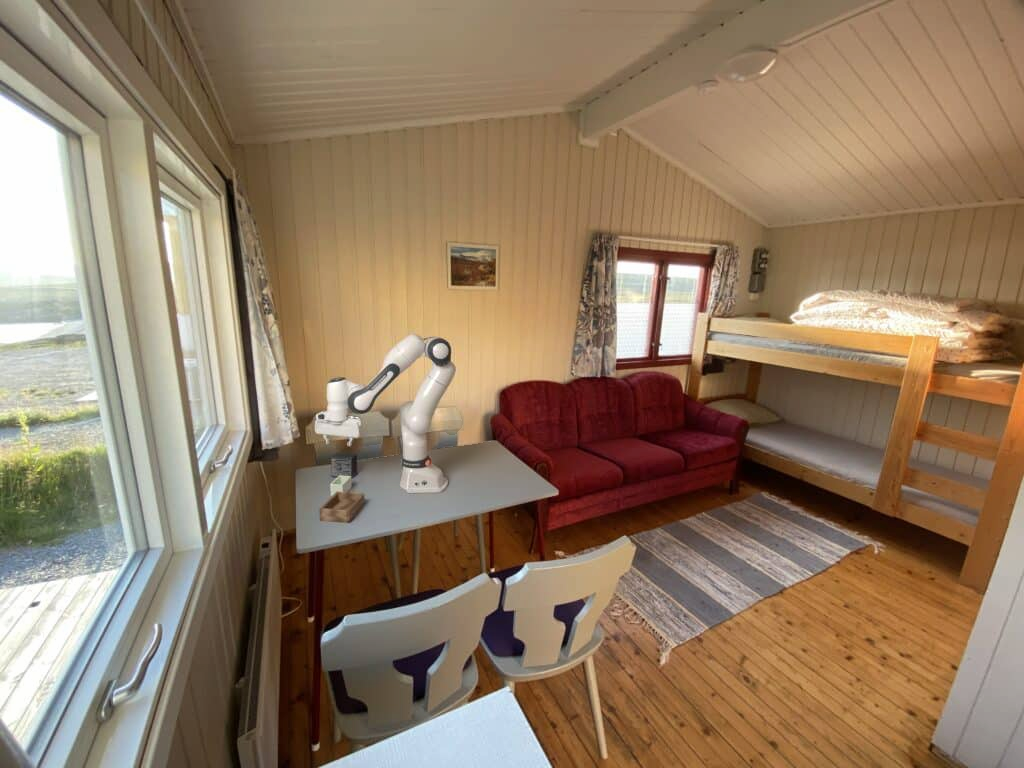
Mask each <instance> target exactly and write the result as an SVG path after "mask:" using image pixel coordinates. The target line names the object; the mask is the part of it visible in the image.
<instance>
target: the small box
mask: <svg viewBox="0 0 1024 768" xmlns="http://www.w3.org/2000/svg"><path fill="white" fill-rule="evenodd" d="M330 463H331V465H330V466H331V478H337V477H338V476H339V475H341V476H351V480H353V479H354V477H355V476H357V475H358V455H357V453H346V452H336V453H334V454H333V455H331V456H330Z"/></svg>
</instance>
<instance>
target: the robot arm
mask: <svg viewBox="0 0 1024 768" xmlns="http://www.w3.org/2000/svg"><path fill="white" fill-rule="evenodd" d="M451 346H452V345H450V342H448V341H447V340H446V339H445V338H442V337H440V336H430V337H426V338H425V337H424V338H423V337H422V336H421V335H419V334H416V333H410V334H409V335H407V336H405V337H404V338H402V339H401V340H399V342H397V343H396V344H395V345H394V346H393V347H391V349H389V351H388V353H386V355H385V356H384V357H383V364H382V366H381V369H380V371H379V372H378V374H377V375H376V376H375V377H373V379H372V380H371V381H370V382H369V383H367V385H366V384H362V383H357V382H354V381H351V380H349V379H348V378H346V377H343V376H339V377H335V378H332V379H330V380H329V381H328V382H327V384H326V401H327V406H326V409H324V410H321V411H320V412H318V413H317V414H316V415H315V419H316V420H315V422H314V432H315V434H316V435H323V436H322V437H323V438H324V440H325V444H326V445H330V444H332V439H330V438H329V436H335V437H345V438H348V440H349V441H347V442H346V446H347V447H352V444H353V441H354V439H358V438H360V437H361V436H362V435H363V427H362V418H360V417H359V416H353V415H350V411H351V412H352V413H354V414H356V415H357V414H358V415H363V414H366V413H368V412H370V411H371V410H372V408H373V406H374V404H375V401H376V399H378V397H379V396H380V395H381V394H382V393H383V392H384V391H385V390H386V388H388V387H389V386H390V384H391V383H393V381H394V380H396V378H398V377H399V376H400V375H401V374H402V373H404V372H405V371H406V370H407V369H409V368H410V367H411V366H412V365H413V364H414V363H415V362H416V361H417V360H418V359H420V358H421V357H426V358H428V359H429V360H430V361H431V362H432V364H431V365H432V366H431V368H430V370H429V371H428V373H427V375H426V376H425V377H424V379H423V381H422V382H421V383H420V386H419V387H418V388H417V392H416V395H415V397H414V400H408V401H406V402H403V404H402V405H401V406H400V409H399V417H400V429H401V439H402V456H401V469H402V472H401V478H400V482H399V487H400V488H402V489H403V490H405V491H406V493H408V494H422V493H423V494H425V493H426V494H428V493H429V494H430V493H431V494H432V493H442V492H443V491H445V490H446V489H447V487H448V485H449V480H448V478H447V477H445V476H444V473H443V471H442V469H441V468H439V467H438V466H436V465H435V464H434V463H432V455H431V456H429V455H428V438H427V431H429V430H430V428H431V425H432V420H433V416H434V414H435V412H436V409H437V408H438V405H439V403H440V400H441V399H442V397H443V396H444V395H445V393H446V392H447V389H448V388H449V386H450V384H451V383H452V381H453V378H454V377H455V375H456V372H457V366H456V365H455V363H454V362H453V361H452V347H451Z"/></svg>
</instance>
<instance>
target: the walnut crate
mask: <svg viewBox="0 0 1024 768" xmlns="http://www.w3.org/2000/svg"><path fill="white" fill-rule="evenodd" d="M364 505H365V493H363V492H350V491H349V492H336V493H335V494H334V495H333V496H332V497H331V496H330V498H329V499H328V500H326V502H325V503H324V504H323V505H322V506H321V507H320V508H319V510H318V511H319V521H320V522H332V523H345V524H350V523H351V522H352V521H353V520H354V518H355V517H356V516H357V514H358V513H359V512H360V510H361V509H362V508H363V507H364Z"/></svg>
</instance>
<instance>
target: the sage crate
mask: <svg viewBox="0 0 1024 768" xmlns="http://www.w3.org/2000/svg"><path fill="white" fill-rule="evenodd" d="M329 486H330V487H329V488H330V498H331V497H332V496H333V495H334V494H335V493H336V492H350V491H351V490H352V488H353V487H352V479H351V476H341V475H339V476H338V477H335V479H334V480H333V481H332V482H331V483H330V484H329Z"/></svg>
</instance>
